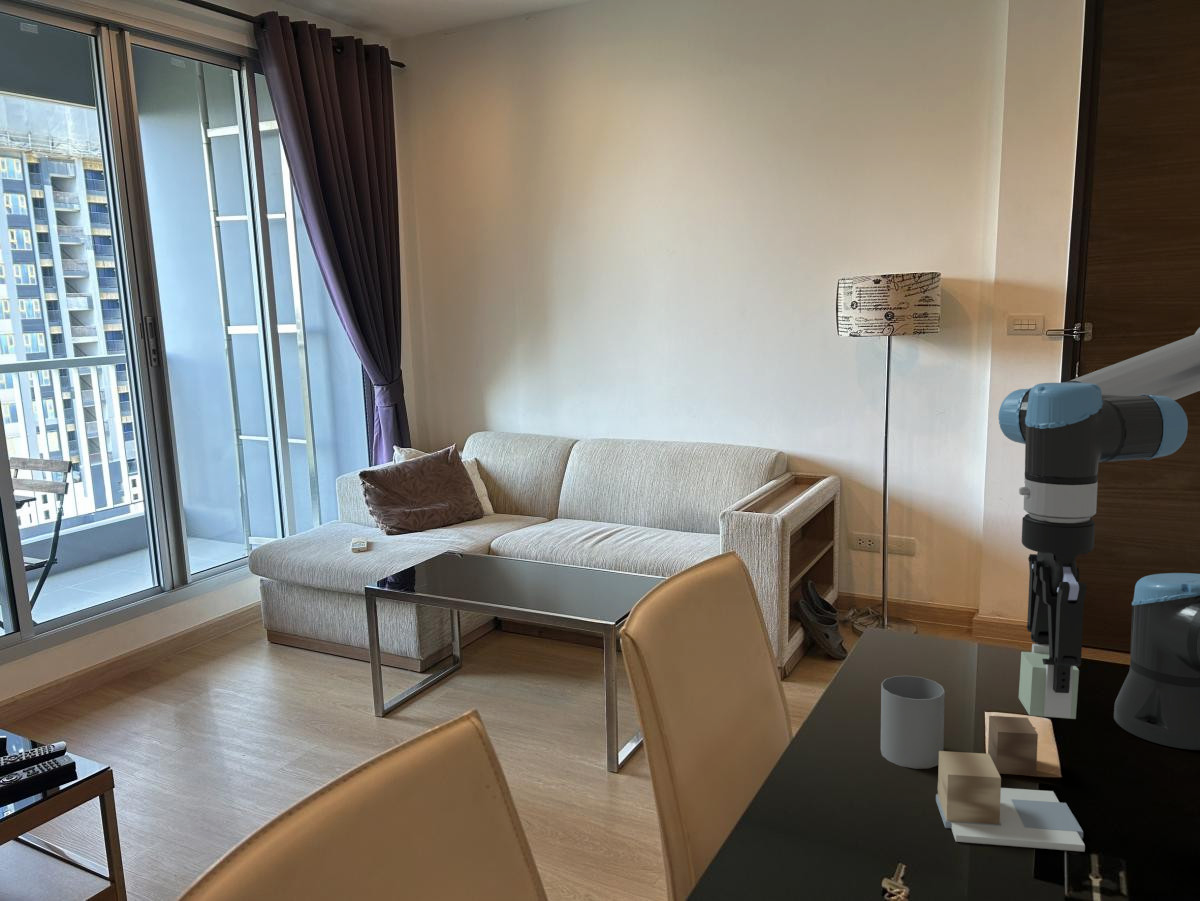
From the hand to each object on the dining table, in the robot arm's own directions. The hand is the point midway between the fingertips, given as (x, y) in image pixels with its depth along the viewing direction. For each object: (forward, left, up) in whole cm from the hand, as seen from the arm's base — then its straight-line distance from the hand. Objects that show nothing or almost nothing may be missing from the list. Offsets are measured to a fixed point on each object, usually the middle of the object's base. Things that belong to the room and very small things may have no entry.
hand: (1049, 705), depth 106 cm
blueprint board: (+4, 0, -15) cm, 16 cm away
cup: (+13, -16, -15) cm, 25 cm away
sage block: (0, 0, 0) cm, 1 cm away
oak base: (+9, 0, -14) cm, 17 cm away
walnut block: (0, -14, -15) cm, 20 cm away
